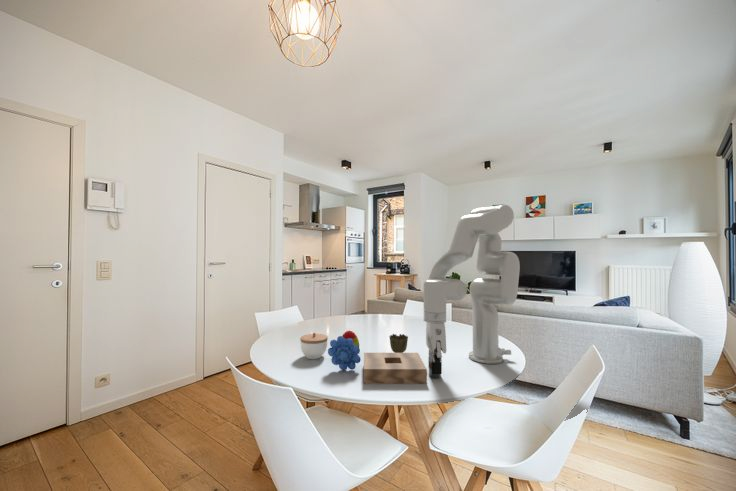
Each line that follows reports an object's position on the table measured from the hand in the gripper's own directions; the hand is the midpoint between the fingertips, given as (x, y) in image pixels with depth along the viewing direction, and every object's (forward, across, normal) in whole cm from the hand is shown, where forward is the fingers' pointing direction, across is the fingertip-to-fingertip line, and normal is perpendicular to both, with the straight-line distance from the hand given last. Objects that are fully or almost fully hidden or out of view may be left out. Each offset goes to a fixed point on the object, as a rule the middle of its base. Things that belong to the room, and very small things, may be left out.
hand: (434, 370), depth 101 cm
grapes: (+2, +4, +31) cm, 31 cm away
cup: (+2, +20, +10) cm, 22 cm away
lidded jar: (+2, +19, +44) cm, 48 cm away
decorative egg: (+2, +20, +30) cm, 36 cm away
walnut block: (+2, +2, +14) cm, 14 cm away
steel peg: (+2, 0, 0) cm, 2 cm away
